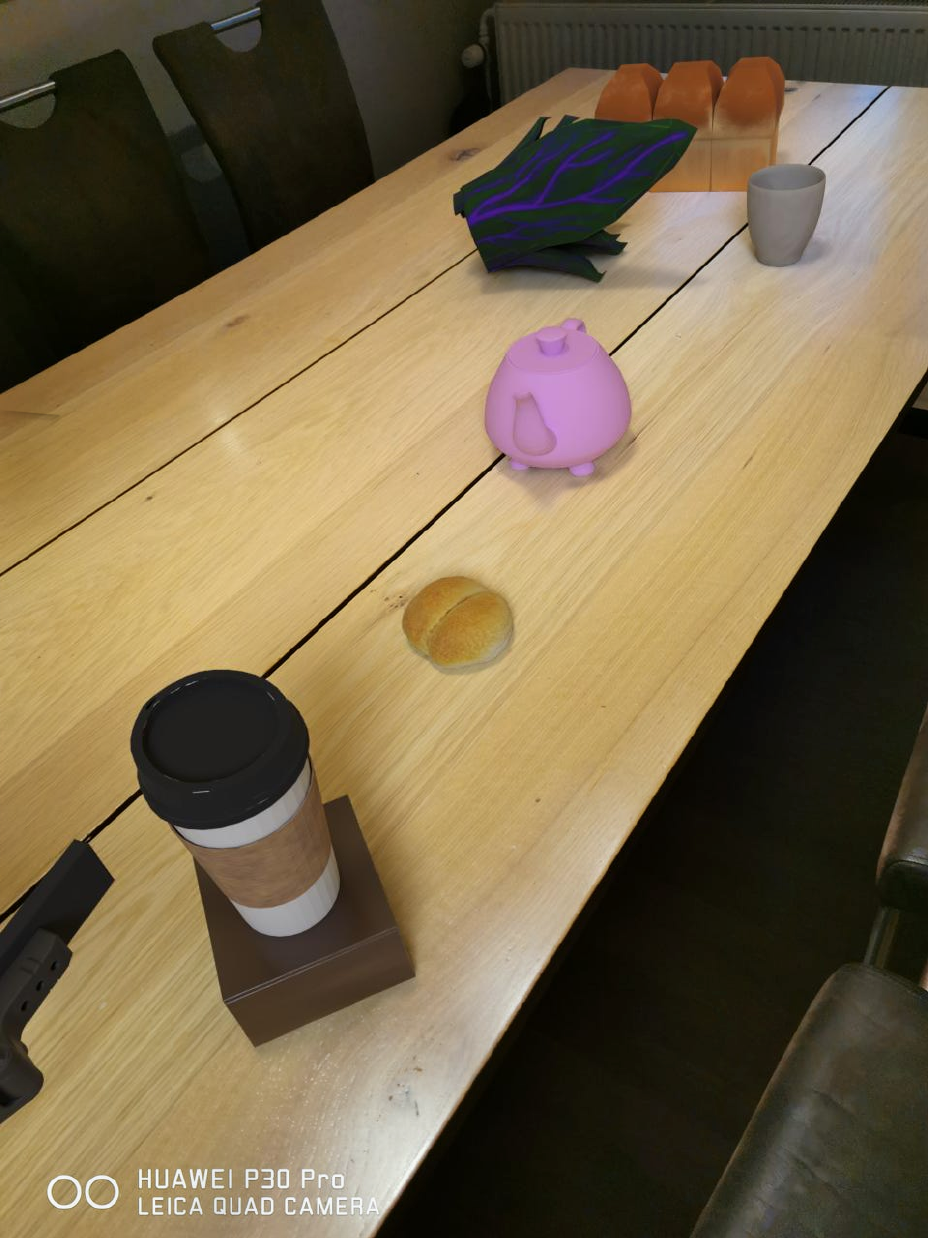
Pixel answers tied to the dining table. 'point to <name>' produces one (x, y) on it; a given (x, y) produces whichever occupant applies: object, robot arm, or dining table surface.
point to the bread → (706, 117)
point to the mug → (784, 210)
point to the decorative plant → (568, 191)
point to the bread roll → (458, 622)
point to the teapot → (557, 400)
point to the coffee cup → (240, 794)
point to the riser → (309, 945)
